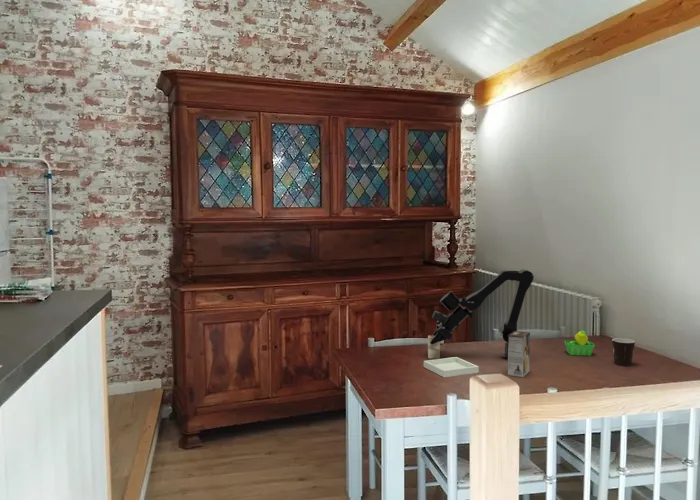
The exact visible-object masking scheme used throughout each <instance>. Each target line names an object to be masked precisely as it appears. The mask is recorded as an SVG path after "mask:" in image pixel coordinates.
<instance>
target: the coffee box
mask: <svg viewBox="0 0 700 500" xmlns="http://www.w3.org/2000/svg"><path fill="white" fill-rule="evenodd" d="M530 338H531V332H530V331H519V330H517V331H514V332H512V333H511V334H509V335H508V359H507V376H512V377H520V378H524V377H525V376H526V375H527V374H528V373H529V372H530V361H531V359H530V357H531V356H530V355H531V351H530V350H531V339H530Z"/></svg>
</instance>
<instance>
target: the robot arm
mask: <svg viewBox="0 0 700 500" xmlns="http://www.w3.org/2000/svg"><path fill="white" fill-rule="evenodd" d="M507 281H515V282H516V283H515V285H516V286H515V287H516V289H515V291H514V296H513V298H512V302H511V306H510V309H509V313H508V316H507V319H506V321H505V322H503V321H502V322H501V326H500V328H499V330H498V331H499V332H500V336H501V338H502V339H503V341H505V344H504V355H502V356H501V357H502V358H503V359H507V360H508V335H509V334H511V333H512V332H514V331H518V324H517V323H518V321H519V317H520V313H521V310H522V307H523V303H524V299H525V297H526V293H527V291H529V288H530V287H531V285H532V283H533V281H534V274H533V272H532V271H529V269H523V268H522V269H519V270H506V269H502V270H501V271H500V272H499V273H498V274H497V275H495V276H494V277H493V278H492V279H491V280H490V281H488V283H486V284H485V285H484V286H482V287H481V288H480V289H479V290H477V291H475V292H472V293H471V294H469V295H468V296H466V297H463V298H458V297H457V296H456V294H455V293H454V292H453V291H452V290H450V291H449V292H448V293H446V294H444V295H443V296H442V297H441V299H440V300H439V303H441V305H443V306H444V307H445V308H446V309H447V310H448V311H452V312H451V313H448V314H447V315H446V314H444V313H443V312H440V311H437V310H434V312H433V314H432V315H431V318H432V320H436V325H435V326H436V329H435V331H434V332H433V334H432V335H431V336H435V337H434V338H433V339H432V341H431V342H430V343H431V344H434V343H437V342H440V343H441V342H443V341H445V340H448V341H450V340H451V339H452V338H453V332H454V330H455V328H457V327H459V326H460V324H461V323H462V322H463V321H465V319H466V318H467V317H469V318H470V319H473V318H474V317H473V314H474V312H473V311H475V310H478V309H479V307H480V306H481V305H482V304H483V303H484V301H485V299H486V298H487V297H488V296H490V295H491V294H492V293H493V292H494V291H496V290H497V289H498V288H499V287H501V286H502V285H503V284H504V283H505V282H507ZM470 310H471V311H470Z"/></svg>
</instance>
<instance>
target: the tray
mask: <svg viewBox="0 0 700 500" xmlns="http://www.w3.org/2000/svg"><path fill="white" fill-rule="evenodd" d="M423 368H425V369H427V370H429V371H431V372H433V373H435V374H437V375H438V376H440V377H443V378H450V377H457V376H466V375H473V374H479V371H480V370H479V369H480V367H479V365H476V364H473V363H471V362H469V361H467V360H464V359H462V358H460V357H458V356H454V357H451V356H450V357H446V358H445V357H444V358H434V359H429V360H423Z"/></svg>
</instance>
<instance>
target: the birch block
mask: <svg viewBox="0 0 700 500" xmlns="http://www.w3.org/2000/svg"><path fill="white" fill-rule="evenodd" d="M434 337H435V336H432V335H427V359H441V341H440V342H437V343H434V344H431V343H430V342H431V341H432V339H433V338H434Z"/></svg>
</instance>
